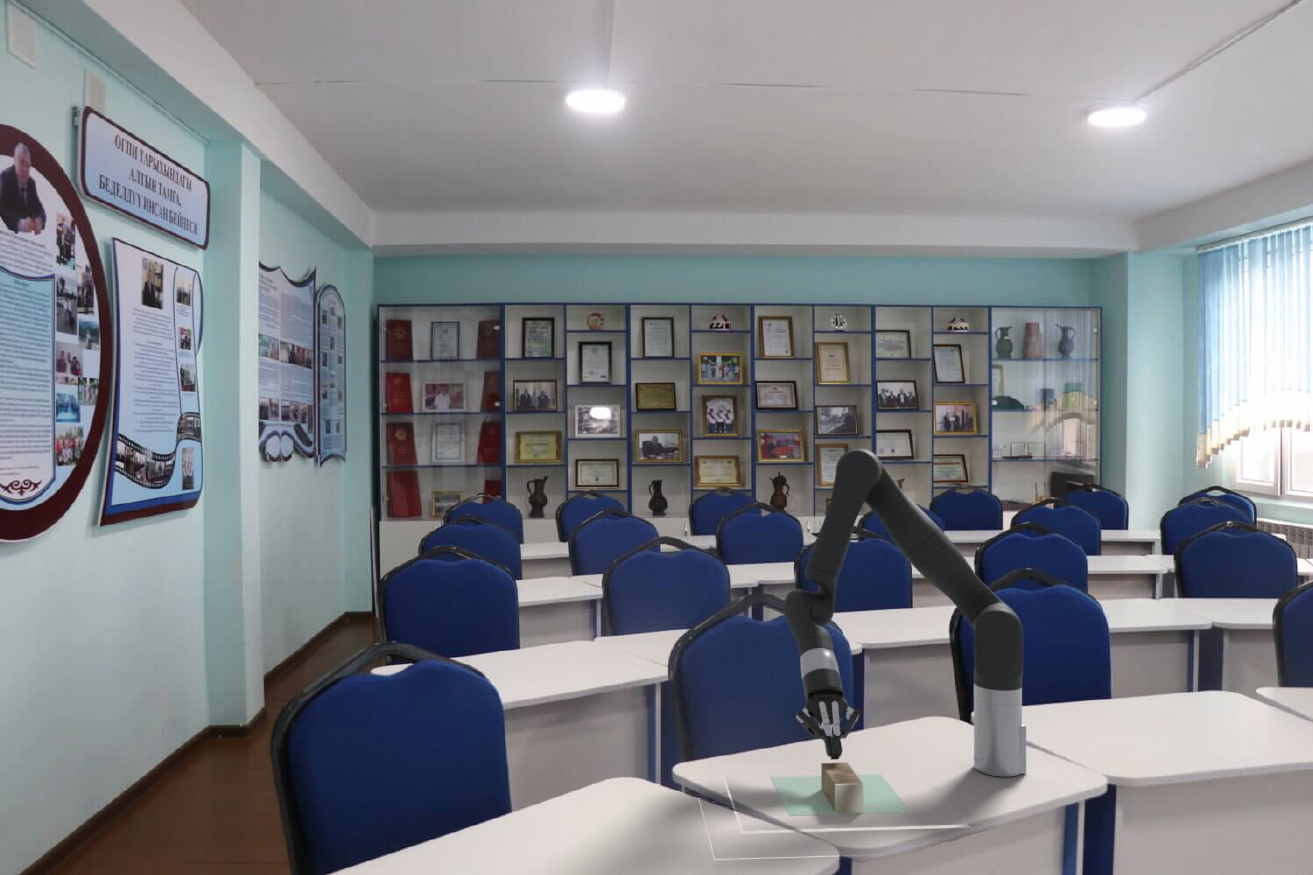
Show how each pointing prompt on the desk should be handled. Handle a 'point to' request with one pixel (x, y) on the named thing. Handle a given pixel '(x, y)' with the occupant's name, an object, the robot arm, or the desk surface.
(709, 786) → the desk surface
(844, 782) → the walnut block
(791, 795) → the sage mat
